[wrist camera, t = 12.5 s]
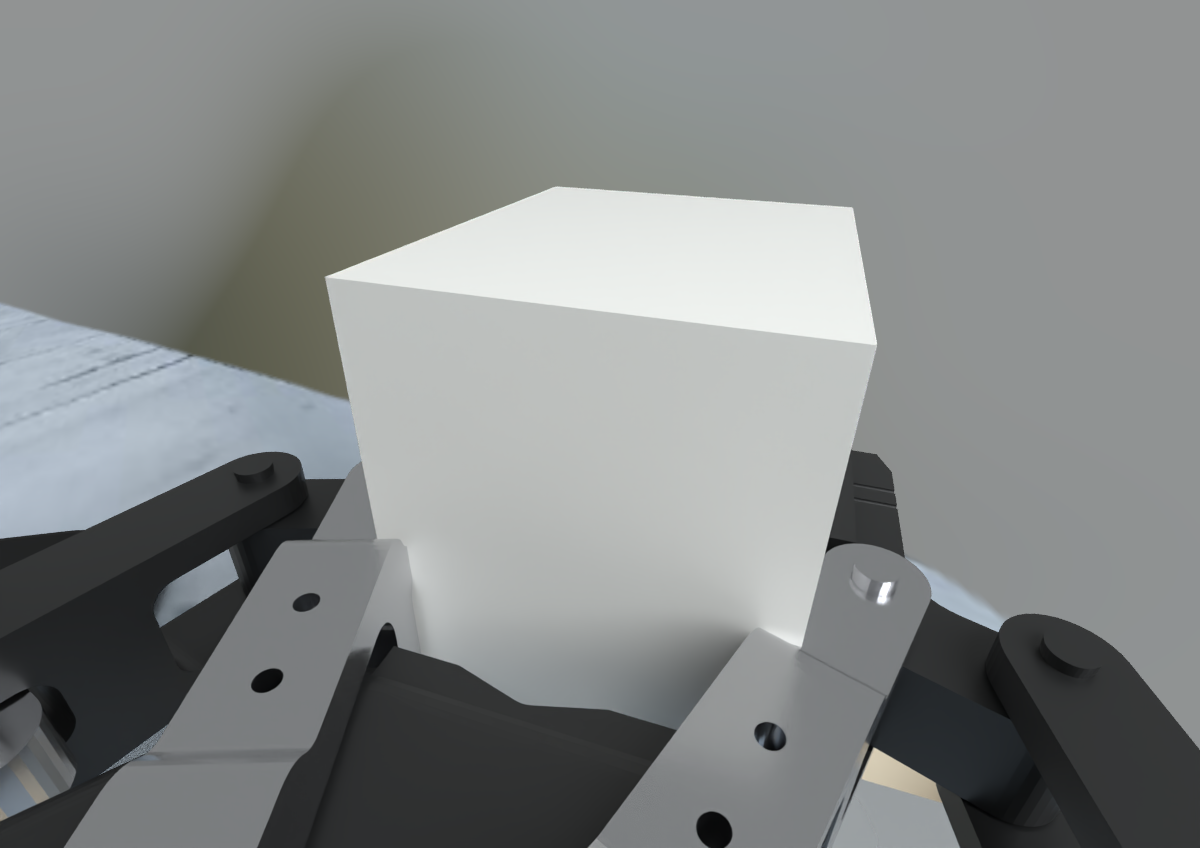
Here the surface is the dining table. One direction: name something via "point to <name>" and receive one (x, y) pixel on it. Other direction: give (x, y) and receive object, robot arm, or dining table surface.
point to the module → (609, 433)
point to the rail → (894, 821)
